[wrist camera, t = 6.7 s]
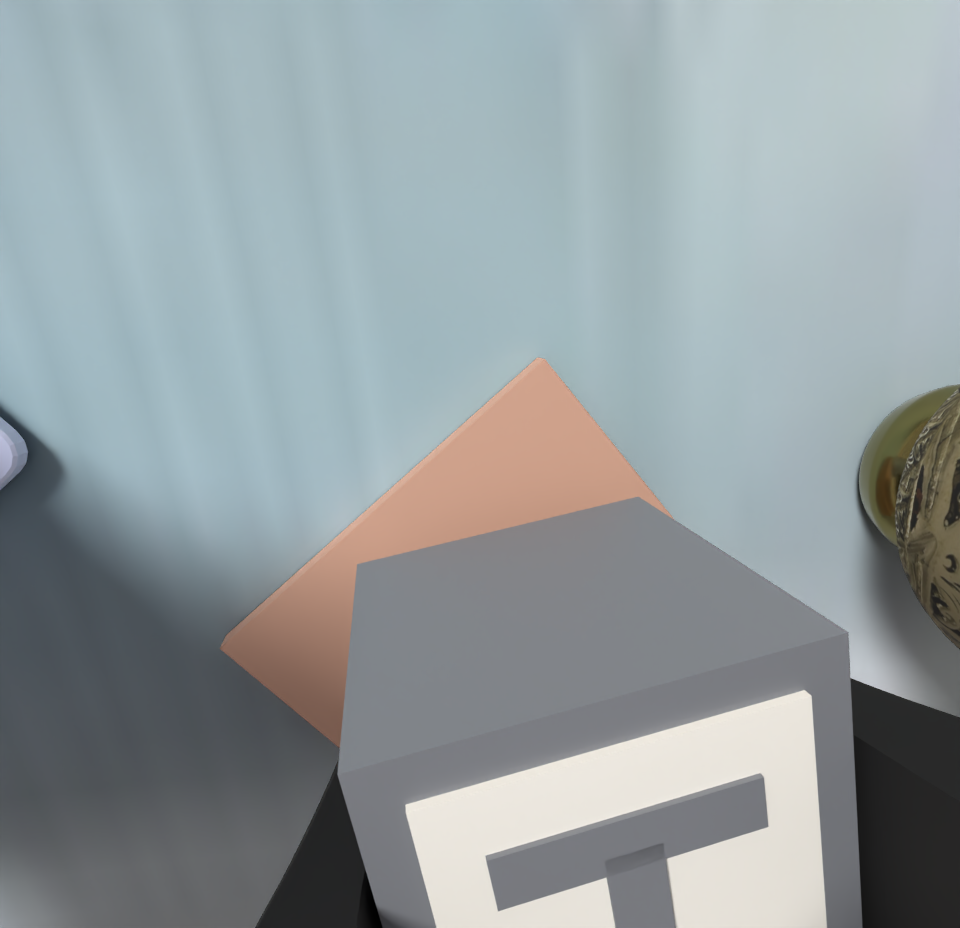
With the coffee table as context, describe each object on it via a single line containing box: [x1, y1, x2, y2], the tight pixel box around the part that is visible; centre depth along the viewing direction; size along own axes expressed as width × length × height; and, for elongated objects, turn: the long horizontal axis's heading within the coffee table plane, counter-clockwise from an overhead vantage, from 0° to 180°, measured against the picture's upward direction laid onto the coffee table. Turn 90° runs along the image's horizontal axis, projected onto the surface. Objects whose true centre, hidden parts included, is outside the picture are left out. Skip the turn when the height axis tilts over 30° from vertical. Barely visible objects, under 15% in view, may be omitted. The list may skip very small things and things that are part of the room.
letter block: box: [337, 497, 863, 928], centre depth 9 cm, size 5×5×5 cm
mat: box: [220, 358, 673, 748], centre depth 13 cm, size 8×8×1 cm
